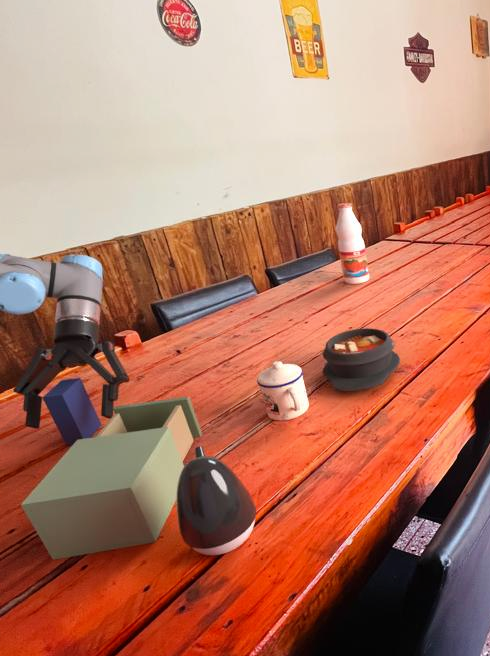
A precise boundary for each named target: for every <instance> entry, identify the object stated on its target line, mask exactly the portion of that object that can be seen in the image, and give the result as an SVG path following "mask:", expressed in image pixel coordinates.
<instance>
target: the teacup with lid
mask: <svg viewBox="0 0 490 656" xmlns="http://www.w3.org/2000/svg"><path fill="white" fill-rule="evenodd" d="M303 375H304V372H303V369H302V367H300V366H299V365H297V364H294V363H283V362H282V361H280V360H276V361H273V362H272V364H271V366H270V367H267V368H265V369H264V370H262V371H261V372H260V373H259V374H258V375H257V379H256V383H257V385H258V386H259V389H260V393H261V396H262V400H263V403H264V407H265V410H266V414H267V417H269V418H270V419H272V420H274V421H289V420H294V419H296V418H298V417H300V416H302V415H303V414H305V413H306V412H307V410H308V409H309V408H310V407H309V406H310V402H309V397H308V394H307V390H306V386H305V382H304V378H303V377H304V376H303Z"/></svg>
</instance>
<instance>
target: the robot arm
mask: <svg viewBox="0 0 490 656" xmlns="http://www.w3.org/2000/svg"><path fill="white" fill-rule="evenodd" d="M102 265H103V264H102V263H101V262H100V261H99V260H97V259H96V258H94V257H91V256H88V255H85V254H77V255H75V254H68V255H65V256H63V257H62V258H61V259H60V262H53V261H47V260H40V259H39V260H38V259H35V258H29V257H23V256H18V255H17V256H16V255H11V254H10V253H0V311H2V312H4V313H7V314H11V315H19V316H20V315H26V314H30V313H32V312H34V311H36V310H37V309H39V308H40V307H41V306H42V304H43V303H44V300H45V299H46V298H51V299H52V298H54V299H56V305H55V306H56V307H55V308H56V309H55V316H54V321H55V323H54V327H53V328H54V330H53V342H54V343H53V347H52V348H48V349H47V348H42V347H37V348H36V349H35V351H34V354H33V355H34V356H33V358H32V360H31V361H30V363H29V365H28V366H27V368H26V369H25V371H24V372H23V374H22V376H21V377H20V379H19V380H18V382H17V383H16V384H15V386H14V388H13V390H12V391H13V393H15V394H18V395H21V396H23V406H22V409H23V411H24V412H26V415H25V424H24V426H25V427H27V428H30V429H35V430H36V429H40V425H41V424H40V423H41V416H42V415H41V414H42V405H43V398H42V397H43V396H41V395H40V394H41V393H42V392H43V391H44V390H45V388H47V387H48V385H50V384H51V382H52V381H54V379H55V378H56V377H57V376H58V375H59V374H60V373H62V372H64V371H65V370H66V369H67V368H68V369H73V368H77V367H81V368H82V367H86V366H87V365H88V366H89V367H91V368H92V369H93V370H94V371H95V372H96V373H97V374H98V375H99V376H100V377H101V378H102V379H103V380H104V381H105V382H106V383H104V384H102V395H101V410H100V416H101V417H104V418H107V419H111V418H112V417H113V415H114V410H113V409H114V408H115V406H114V404H115V402H117V401H118V400H119V391H120V385H122V384H124V383H125V384H126V383H129V382H130V379H131V378H130V376H129V375H128V373H127V372H126V369H125V368H124V366H123V364H122V363H121V361H120V359H119V357H118V355H117V354H116V348H115V347H116V346H115V344H114V343H112V342H111V341H109V340H107V339H103V340H102V341H101V342H99V341H100V329H101V328H100V326H99V325H100V323H101V322H100V321H101V310H102V296H103V285H104V284H103V283H104V279H103V266H102ZM99 352H101V353H103V356H104V357H105V359H106V361H107V363H108V364H109V366H110V368H111V369H112V372H113V373H114V375H115V376H114V375H113V374H112V373H111V372H110V371H109V370H108V369H107V368H106V367H105V366H104V365H103V364H102V363H101V362H100V361H99V359H97V358H96V355H97V354H98V353H99Z"/></svg>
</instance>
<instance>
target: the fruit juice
mask: <svg viewBox="0 0 490 656" xmlns="http://www.w3.org/2000/svg"><path fill="white" fill-rule="evenodd" d="M337 210H338V218H337V222H336V225H335V233H336V235H337V238H338V240H337V247H338V253H339V259H340V265H341V271H342V277H343V280H344V282H345V283H346V284H347V285H348V284H350V285H359V284H363V283H366V282H368V281H369V280H370V272H369V271H370V270H369V264H368V257H367V251H366V245H365V241H364V238H363V236H362V234H363V233H362V232H363V228H362V225H361V223H360V222H359V221H358V219H357V217H356V215H355V213H354V212H353V204H352V202H342V203H337Z"/></svg>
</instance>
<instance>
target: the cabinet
mask: <svg viewBox="0 0 490 656" xmlns="http://www.w3.org/2000/svg"><path fill="white" fill-rule="evenodd" d="M184 466H185V465H184V461H183V462H182V460H181V457H180V454H179V452H178V449H177V447H176V444H175V442H174V439H173V436H172V434H171V431H170V428H169V427H164V428H157V429H150V430H143V431H135V432H128V433H121V434H114V435H107V436H100V437H96V436H94V437H91V438H86V439H79V440H77V441H76V442H75V443H74V444H73V445H71V446H70V448H69V449H68V450H67V451H66V452H65V453H64V454H63V456H62V457H61V458H60V459H58V461H57V463H55V465H53V467H52V468H51V469H50V470H49V472H48V473H47V474H46V475H45V476H44V477H43V478H42V480H41V481H39V483H38V484H37V485H36V486H35V488H34V489H33V490H32V491H31V492H30V493H29V495H28V496H27V497H26V498H25V499H24V500H23V501H22V503H21V504H20V506H21V508H22V511H24V513H25V515H26V517H27V518H28V520H29V521H30V523H31V525H32V527H33V529H34V530H35V532H36V533H37V536H38V537H39V539H40V540H41V542H42V544H43V545H44V547H45V549H46V550H47V552H48V554H49V555H50V558H51V559H52V560H60V559H64V558H65V559H67V558H71V557H77V556H82V555H88V554H95V553H100V552H101V553H102V552H106V551H112V550H118V549H125V548H129V547H135V546H142V545H146V544H152V543H156V542H157V540H158V538H159V536H160V534H161V532H162V530H163V528H164V526H165V524H166V522H167V520H168V519H169V516H170V514H171V512H172V510H173V507H174V506H175V504H176V503H177V485H178V480H179V477H180V474H181V471H182V469H183V468H184Z"/></svg>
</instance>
